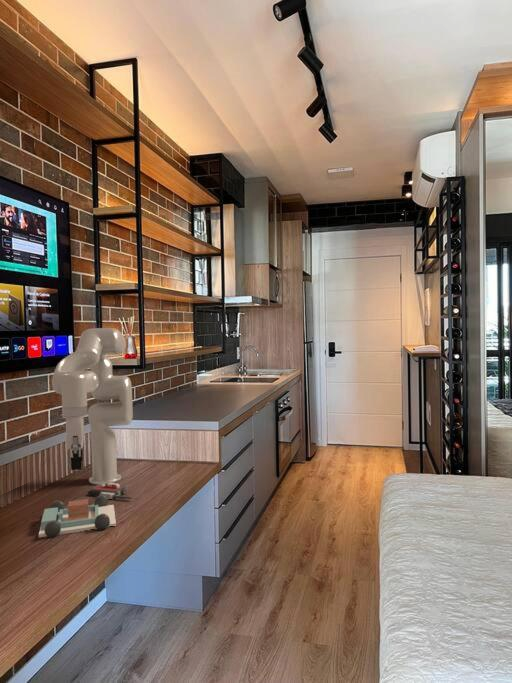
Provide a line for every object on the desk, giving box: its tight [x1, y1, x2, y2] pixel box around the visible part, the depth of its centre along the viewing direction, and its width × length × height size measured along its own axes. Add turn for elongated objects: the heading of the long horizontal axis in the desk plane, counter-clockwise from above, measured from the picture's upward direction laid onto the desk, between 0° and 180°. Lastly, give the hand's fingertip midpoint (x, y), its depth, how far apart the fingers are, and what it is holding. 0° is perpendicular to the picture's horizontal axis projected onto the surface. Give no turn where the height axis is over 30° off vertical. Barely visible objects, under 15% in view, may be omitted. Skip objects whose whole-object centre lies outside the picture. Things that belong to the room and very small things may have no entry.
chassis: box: [38, 495, 117, 539], centre depth 159 cm, size 21×22×4 cm
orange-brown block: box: [67, 498, 90, 521], centre depth 159 cm, size 5×6×5 cm
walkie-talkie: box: [87, 482, 133, 500], centre depth 184 cm, size 9×4×20 cm
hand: (77, 465), depth 159 cm, fingers open, 9 cm apart
